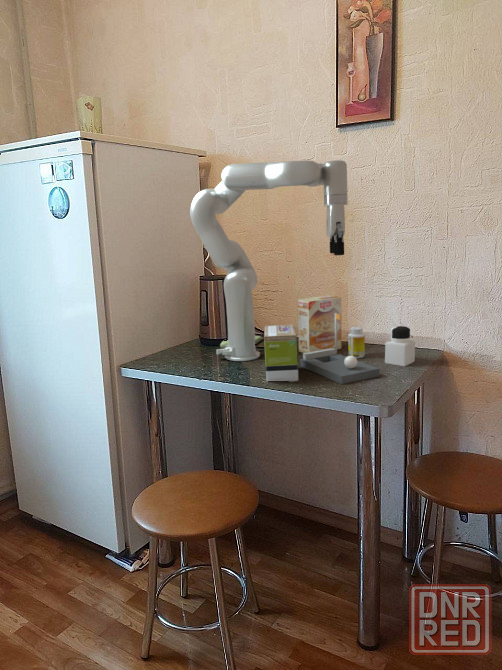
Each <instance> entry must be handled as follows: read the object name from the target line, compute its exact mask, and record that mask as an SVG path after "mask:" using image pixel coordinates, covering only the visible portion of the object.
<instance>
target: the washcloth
mask: <svg viewBox="0 0 502 670" xmlns="http://www.w3.org/2000/svg"><path fill="white" fill-rule="evenodd" d="M263 339H264V338H263V337H262V336H260V335H255V344H256V345H257V344H259V343H260V342H261V341H262V340H263ZM263 341H264V340H263ZM226 345H229V342H228V340H227V341H224V340H223V341H221V343H220V344H219V346H220V349H224V348H225V347H226Z"/></svg>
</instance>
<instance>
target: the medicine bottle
mask: <svg viewBox="0 0 502 670" xmlns="http://www.w3.org/2000/svg"><path fill="white" fill-rule="evenodd" d="M384 344H385V345H384V363H385V364H387V365H394V366H401V367H406V366H409V365H411V364H414V363H415V358H416V356H415V355H416V341H415V340H411V329H410V328H409V327H408V326H405V325H404V326H403V325H397V326H396V325H395V326H393V327H391V328H390V340H389V341H386V342H384Z"/></svg>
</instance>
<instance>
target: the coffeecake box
mask: <svg viewBox="0 0 502 670" xmlns="http://www.w3.org/2000/svg"><path fill="white" fill-rule="evenodd" d="M297 308H298V309H297V311H298V313H297V316H298V317H297V318H298V329H297V330H298V352H300V353H302V354H303V353H308V352H314V351H320V350H325V349H331V348H334V349H335V313H337V314H341V315H342V296H338V295H332V294H328V295H321V296H315V297H305V298H300V299H297ZM341 349H342V319H341V320H338V319H337V350H341Z"/></svg>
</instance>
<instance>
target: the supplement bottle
mask: <svg viewBox="0 0 502 670" xmlns="http://www.w3.org/2000/svg"><path fill="white" fill-rule="evenodd" d="M347 335H348V336H347V340H348V341H347V342H348V343H347V344H348V345H347V348H348V350H347V351H348V352H347V353H348V356H354V357H355V358H356V359H362V358H364V357H365V356H366V351H365V349H366V348H365V347H366V346H365V343H366V341H365V337H366V336H365V333H363V327H361V326H352V327H350V333H348V334H347Z"/></svg>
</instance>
